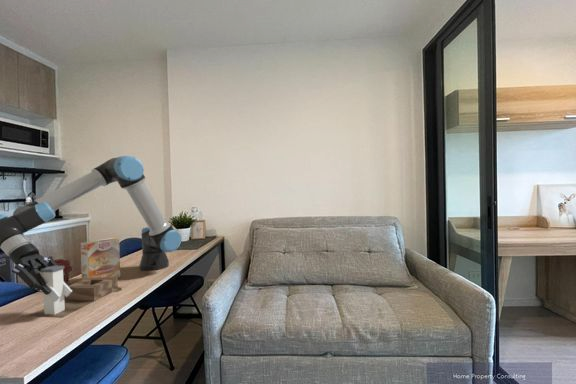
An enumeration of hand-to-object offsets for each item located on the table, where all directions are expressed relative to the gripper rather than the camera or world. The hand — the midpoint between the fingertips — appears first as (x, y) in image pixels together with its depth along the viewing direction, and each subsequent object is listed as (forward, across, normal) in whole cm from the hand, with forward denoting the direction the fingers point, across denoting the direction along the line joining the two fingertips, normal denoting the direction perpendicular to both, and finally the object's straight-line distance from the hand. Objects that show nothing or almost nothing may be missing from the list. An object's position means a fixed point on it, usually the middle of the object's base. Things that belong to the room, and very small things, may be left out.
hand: (63, 296), depth 103 cm
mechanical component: (-16, -28, -26) cm, 42 cm away
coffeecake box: (-7, -38, -17) cm, 42 cm away
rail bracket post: (+1, 0, -7) cm, 7 cm away
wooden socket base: (+2, -11, -7) cm, 13 cm away
